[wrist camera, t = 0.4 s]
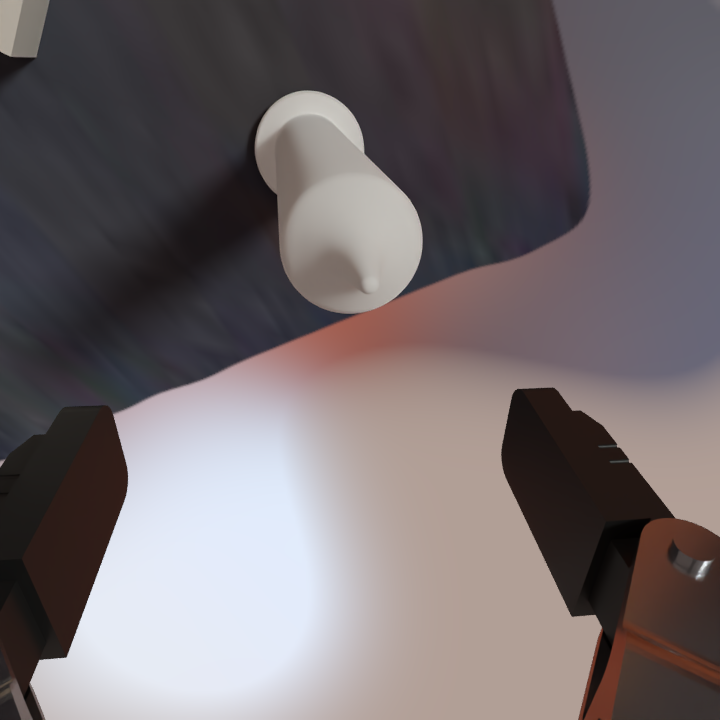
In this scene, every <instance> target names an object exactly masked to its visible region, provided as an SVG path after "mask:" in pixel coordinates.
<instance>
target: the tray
mask: <svg viewBox="0 0 720 720" xmlns="http://www.w3.org/2000/svg"><path fill="white" fill-rule="evenodd" d="M49 1H50V0H0V52H2V53H4V54H6V55H8V56H10V57H36V56H37V52H38V48H39V44H40V39H41V35H42V31H43V26H44V22H45V18H46V14H47V9H48V5H49Z"/></svg>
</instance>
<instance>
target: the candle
mask: <svg viewBox="0 0 720 720" xmlns="http://www.w3.org/2000/svg"><path fill="white" fill-rule="evenodd" d="M255 157H256V162H257V166H258V169H259V171H260V174H261V175H262V177H263V179H264V181H265V182H266V184H267V185H268V186H269V187H270V189H271V190H272V191H273V192H274V193H276V194H277V201H278V222H279V243H280V255H281V260H282V264H283V267H284V270H285V272H286V274H287V276H288V278H289V280H290V281H291V283H292V284H293V286H294V287H295V288H296V289H297V291H298V292H299V293H300V294H301V295H302V296H303V297H305V298H306V299H307V300H308V301H310V302H311V303H313V304H315V305H316V306H318V307H320V308H323V309H325V310H329V311H332V312H337V313H345V314H353V313H362V312H366V311H370V310H373V309H376V308H378V307H380V306H383V305H384V304H386V303H388V302H389V301H391V300H392V299H394V298H395V297H396V296H397V295H398V294H400V293H401V292H402V291H403V290H404V288H405V287H406V286H407V285H408V283H409V282H410V280H411V279H412V277H413V275H414V274H415V272H416V269H417V267H418V264H419V261H420V257H421V253H422V229H421V224H420V220H419V217H418V214H417V212H416V210H415V208H414V206H413V204H412V203H411V201H410V200H409V198H408V197H407V196H406V195H405V194H404V193H403V192H402V191H401V190H400V189H399V188H398V187H397V186H396V185H395V184H394V183H393V182H392V181H391V180H390V179H389V178H388V177H387V176H386V175H385V174H384V173H383V172H382V171H381V170H380V169H379V168H378V167H377V166H376V165H375V164H374V163H373V162H372V161H371V160H370V159H369V158H368V157H367V156H366V155H365V154H364V142H363V137H362V133H361V130H360V127H359V125H358V123H357V121H356V119H355V117H354V116H353V114H352V113H351V112H350V111H349V109H348V108H347V107H346V106H345V105H343V104H342V103H341V102H340V101H338V100H337V99H335V98H333V97H332V96H330V95H327V94H325V93H321V92H317V91H298V92H294V93H291V94H288V95H286V96H284V97H282V98H281V99H279V100H278V101H276V102H275V103H274V104H273V105H272V106H271V107H270V108H269V109H268V110H267V111H266V113H265V114H264V116H263V117H262V119H261V121H260V124H259V126H258V129H257V133H256V138H255Z"/></svg>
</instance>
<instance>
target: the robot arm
mask: <svg viewBox="0 0 720 720" xmlns="http://www.w3.org/2000/svg"><path fill="white" fill-rule="evenodd" d="M501 453H502V454H501V456H502V466H503V470H504V474H505V477H506V479H507V481H508V483H509V486H510V488H511V490H512V492H513V494H514V496H515V498H516V500H517V502H518V504H519V506H520V509H521V511H522V512H523V515H524V517H525V519H526V521H527V523H528V525H529V528H530V530H531V531H532V534H533V536H534V538H535V540H536V542H537V544H538V547H539V549H540V551H541V553H542V555H543V557H544V559H545V561H546V563H547V566H548V568H549V570H550V572H551V574H552V576H553V578H554V580H555V582H556V585H557V587H558V589H559V591H560V593H561V595H562V597H563V599H564V601H565V603H566V605H567V608H568V610H569V612H570V614H571V616H572V617H574V616H585V615H596V616H597V618H598V620H599V622H600V624H601V626H602V629H601V632H600V634H599V637H598V640H597V645H596V648H595V653H594V657H593V661H592V665H591V669H590V673H589V678H588V681H587V685H586V690H585V694H584V698H583V702H582V706H581V710H580V715H579V719H578V720H720V537H719V536H717V535H716V534H714V533H713V532H711V531H709V530H708V529H706V528H704V527H702V526H699V525H697V524H694V523H692V522H688V521H686V520H681V519H676V518H675V517H674V516H673V515H672V513H671V512H670V511H669V509H668V508H667V507H666V506H665V504H664V503H663V502H662V501H661V499H660V498H659V497H658V496H657V494H656V493H655V492H654V491H653V489H652V488H651V487H650V485H649V484H648V483H647V482H646V480H645V479H644V478H643V476H642V475H641V474H640V473H639V471H638V470H637V469H636V468H635V466H634V465H633V464H632V463H629V459H628V458H627V456H626V455H625V454H624V452H623V451H622V450H621V449H620V448H617V444H616V442H615V441H614V440H613V438H612V437H611V436H610V435H609V433H608V432H607V431H606V429H605V428H604V427H603V426H602V425H601V424H599V423H598V422H596V421H595V420H594V419H592V418H591V417H589V416H588V415H586V414H585V413H583V412H582V411H572V410H571V408H570V407H569V406H568V404H567V403H566V402H565V400H564V399H563V398H562V396H561V395H560V394H559V392H558V391H557V390H556V389H555V388H534V389H517V390H515V392H514V393H513V395H512V400H511V404H510V409H509V414H508V419H507V424H506V429H505V434H504V440H503V444H502V452H501ZM127 486H128V471H127V466H126V462H125V458H124V454H123V450H122V446H121V442H120V439H119V435H118V431H117V428H116V424H115V420H114V416H113V413H112V411H111V409H110V408H109V407H108V406H106V405H103V406H79V407H65V408H63V409H62V410H61V411H60V412H59V414H58V415H57V417H56V419H55V420H54V422H53V423H52V425H51V427H50V428H49V430H48V431H47V433H46V434H44V435H33V436H32V437H31V438H29V439H28V440H27V441H26V442H24V443H23V444H22V445H20V446H19V447H18V448H17V449H15V450H14V451H13V452H12V453H10V454H9V456H8V457H7V458H6V460H5V461H4V463H3V464H2V466H1V467H0V720H45V718H44V715H43V712H42V710H41V707H40V705H39V702H38V700H37V697H36V695H35V692H34V690H33V688H32V686H31V684H30V681H31V679H32V676H33V673H34V671H35V669H36V666H37V663H38V662H39V660H43V659H54V658H66V657H67V654H68V652H69V649H70V647H71V644H72V641H73V638H74V636H75V633H76V630H77V627H78V625H79V621H80V619H81V617H82V614H83V611H84V609H85V606H86V603H87V600H88V598H89V595H90V592H91V590H92V587H93V584H94V582H95V579H96V576H97V573H98V571H99V568H100V565H101V563H102V560H103V557H104V554H105V552H106V549H107V546H108V544H109V541H110V538H111V535H112V533H113V530H114V527H115V525H116V522H117V519H118V516H119V514H120V511H121V508H122V505H123V503H124V500H125V497H126V493H127Z"/></svg>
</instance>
